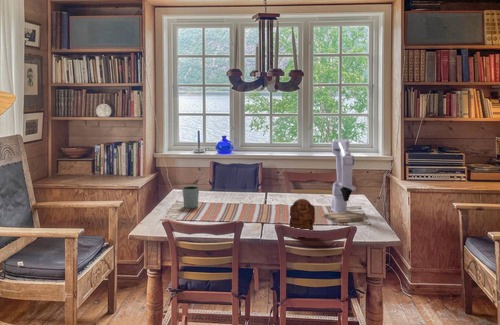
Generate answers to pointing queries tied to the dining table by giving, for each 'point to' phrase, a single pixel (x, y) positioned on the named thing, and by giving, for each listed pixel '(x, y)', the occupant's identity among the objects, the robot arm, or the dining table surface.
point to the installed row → (352, 216)
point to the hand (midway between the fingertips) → (346, 200)
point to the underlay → (337, 222)
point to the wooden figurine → (302, 214)
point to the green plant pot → (190, 196)
